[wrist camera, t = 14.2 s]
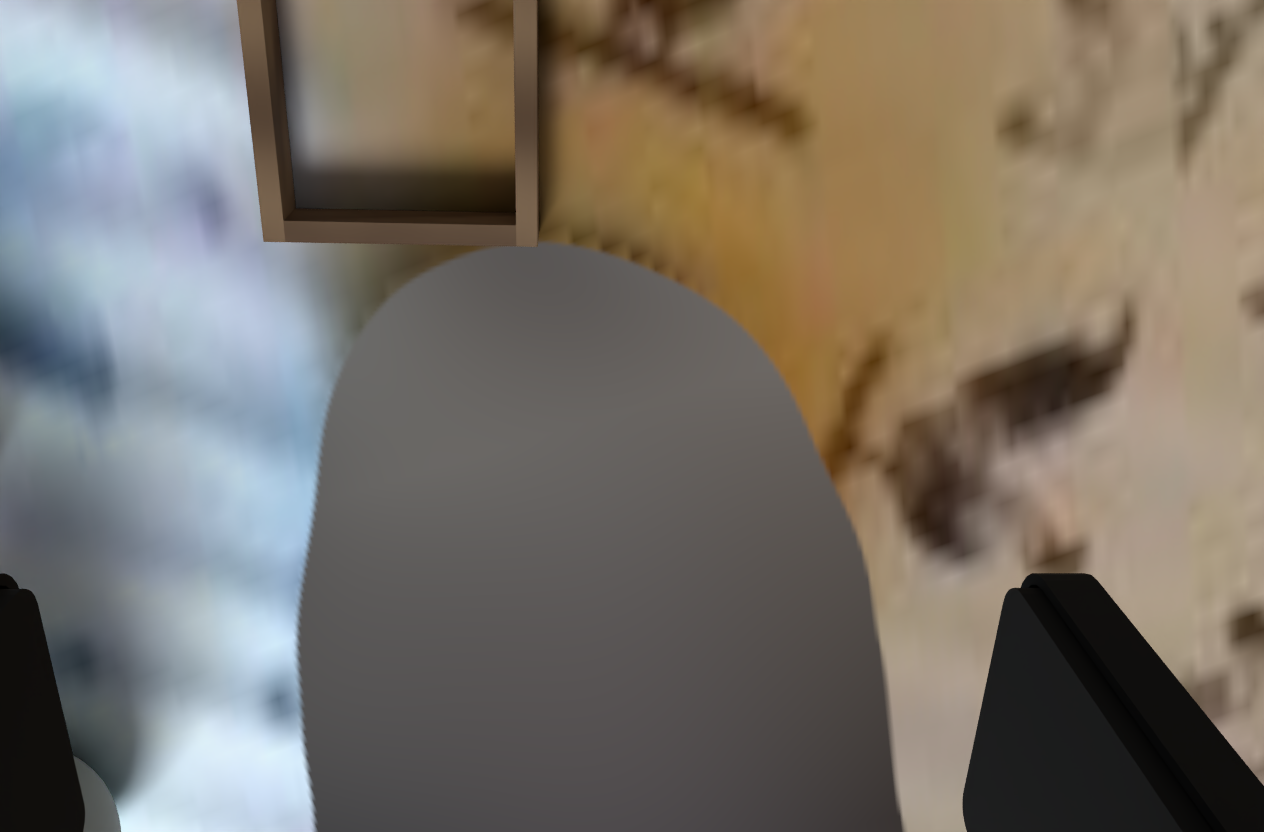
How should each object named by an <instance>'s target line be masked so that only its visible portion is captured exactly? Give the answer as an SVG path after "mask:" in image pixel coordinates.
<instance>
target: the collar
mask: <svg viewBox="0 0 1264 832" xmlns="http://www.w3.org/2000/svg"><path fill="white" fill-rule="evenodd" d="M237 7H238V16H239V25H240V34H241V43H242V52H243V61H244V70H245V79H246V88H247V97H248V106H249V115H250V124H251V133H252V142H253V151H254V160H255V169H256V177H257V186H258V195H259V204H260V213H261V222H262V231H263V240H264V242H311V243H365V244H420V245H475V246H531V247H532V246H533V247H537V246H538V238H539V76H538V0H513V11H514V94H515V178H516V213H507V212H457V211H407V210H358V209H308V208H296V204H295V194H294V183H293V173H292V163H291V153H290V142H289V132H288V122H287V112H286V101H285V91H284V81H283V71H282V60H281V50H280V40H279V29H278V19H277V9H276V0H237Z"/></svg>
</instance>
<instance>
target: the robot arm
mask: <svg viewBox="0 0 1264 832" xmlns="http://www.w3.org/2000/svg"><path fill="white" fill-rule="evenodd" d="M963 816H964V822H965V826H966V830H967V832H1264V786H1263V785H1262V783H1261V782H1260V781H1259V780H1258V778H1257V777H1256V776H1255V775H1254V773H1253V772H1252V771H1251V770H1250V769H1249V767H1248V766H1247V765H1246V764H1245V762H1244V761H1243V760H1242V759H1241V757H1240V756H1239V755H1238V754H1237V752H1236V751H1235V750H1234V749H1233V748H1232V746H1231V745H1230V744H1229V743H1228V741H1227V740H1226V739H1225V738H1224V736H1223V735H1222V734H1221V733H1220V731H1219V730H1218V729H1217V728H1216V726H1215V725H1214V724H1213V723H1212V722H1211V720H1210V719H1209V718H1208V717H1207V715H1206V714H1205V713H1204V712H1203V710H1202V709H1201V708H1200V707H1199V705H1198V704H1197V703H1196V702H1195V701H1194V699H1193V698H1192V697H1191V696H1190V694H1189V693H1188V692H1187V691H1186V689H1185V688H1184V687H1183V686H1182V684H1181V683H1180V682H1179V681H1178V680H1177V678H1176V677H1175V676H1174V675H1173V673H1172V672H1171V671H1170V670H1169V668H1168V667H1167V666H1166V665H1165V663H1164V662H1163V661H1162V660H1161V659H1160V657H1159V656H1158V655H1157V654H1156V652H1155V651H1154V650H1153V649H1152V647H1151V646H1150V645H1149V644H1148V642H1147V641H1146V640H1145V639H1144V638H1143V636H1142V635H1141V634H1140V633H1139V631H1138V630H1137V629H1136V628H1135V626H1134V625H1133V624H1132V623H1131V621H1130V620H1129V619H1128V618H1127V616H1126V615H1125V614H1124V613H1123V612H1122V610H1121V609H1120V608H1119V607H1118V605H1117V604H1116V603H1115V602H1114V600H1113V599H1112V598H1111V597H1110V595H1109V594H1108V593H1107V592H1106V591H1105V589H1104V588H1103V587H1102V586H1101V584H1100V583H1099V582H1098V581H1097V580H1096V579H1095V578H1094V577H1093V576H1092V575H1089V574H1084V573H1032V574H1030V575H1028V576H1027V577H1026V578H1025V580H1024V581H1023V583H1022V586H1021V588H1012V589H1010V590H1009V591H1008V592H1007V594H1006V595H1005V598H1004V602H1003V606H1002V611H1001V616H1000V620H999V625H998V630H997V635H996V640H995V644H994V649H993V654H992V659H991V664H990V668H989V673H988V678H987V683H986V687H985V692H984V697H983V702H982V707H981V711H980V716H979V721H978V726H977V730H976V735H975V740H974V745H973V750H972V754H971V759H970V764H969V769H968V773H967V778H966V783H965V788H964V793H963ZM84 824H85V805H84V800H83V796H82V791H81V787H80V783H79V779H78V774H77V770H76V766H75V761H74V757H73V753H72V749H71V744H70V740H69V736H68V731H67V727H66V723H65V719H64V714H63V710H62V706H61V701H60V697H59V693H58V689H57V684H56V680H55V676H54V672H53V667H52V663H51V659H50V654H49V650H48V646H47V642H46V637H45V633H44V629H43V624H42V620H41V616H40V612H39V607H38V603H37V601H36V598H35V596H34V594H33V593H32V592H31V591H30V590H27V589H19V588H18V585H17V583H16V582H15V580H14V579H13V578H12V577H11V576H9V575H7V574H0V832H83V830H84Z"/></svg>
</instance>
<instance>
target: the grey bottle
mask: <svg viewBox="0 0 1264 832" xmlns="http://www.w3.org/2000/svg"><path fill="white" fill-rule="evenodd" d="M73 757H74V761H75V766H76V770H77V774H78V779H79V783H80V787H81V791H82V796H83V800H84V805H85V824H84V830H83V832H121V826H120V820H119V815H118V812H117V808H116V805H115V802H114V800H113V797H112V795H111V793H110V791H109V790H108V788H107V786H106V785H105V783H104V782H103V780H102V779H101V778H100V777H99V775H98V774H97V773H96V772H95V771H94V770H93V769H92V768H91V767H90V766H88V765H87V764H86V763H84V762H83V761H82V760H80V759H79V758H77V757H75V756H73Z"/></svg>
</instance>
